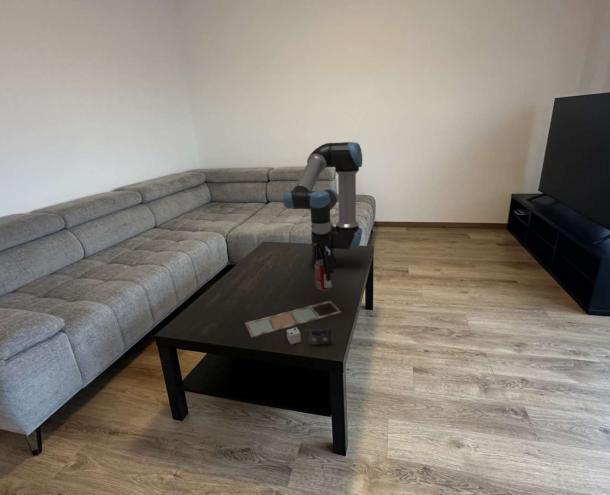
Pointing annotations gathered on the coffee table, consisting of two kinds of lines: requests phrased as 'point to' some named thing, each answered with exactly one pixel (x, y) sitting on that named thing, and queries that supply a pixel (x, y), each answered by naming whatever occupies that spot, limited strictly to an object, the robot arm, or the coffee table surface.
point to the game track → (286, 320)
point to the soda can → (320, 275)
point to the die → (293, 335)
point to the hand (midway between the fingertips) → (323, 282)
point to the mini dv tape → (319, 336)
